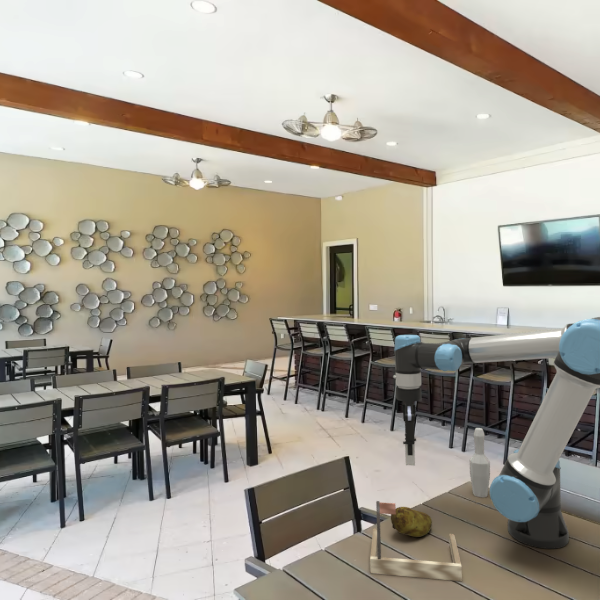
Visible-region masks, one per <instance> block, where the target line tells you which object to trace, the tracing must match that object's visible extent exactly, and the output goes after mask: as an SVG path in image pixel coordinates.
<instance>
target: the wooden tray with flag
mask: <svg viewBox="0 0 600 600" xmlns="http://www.w3.org/2000/svg"><path fill="white" fill-rule="evenodd" d="M375 503H376V504H375V506H376V508H375V509H376V528H372V537H371V546H370V548H371V549H370V558H369V560H370V561H369V562H370V563H369V566H370V568H369V569H370V574H378V575H379V574H380V575H387V576H388V575H389V576H399V577H400V576H401V577H409V578H421V579H432V580H434V579H435V580H443V581H444V580H445V581H455V582H463V570H462V569H463V568H462V563H461V558H460V554H459V550H458V546H457V545H458V544H457V541H456V536H455V534H453V533H449V550H450V555H451V560H452V562H443V561H431V560H420V559H409V558H397V557H396V558H394V557H385V556H383V557H382V543H381V515H382V514H384V515H391V514H396V508H397V507H396V505H397V504H396V502H395V503H393V502H380V500H376V502H375Z"/></svg>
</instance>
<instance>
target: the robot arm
mask: <svg viewBox="0 0 600 600" xmlns="http://www.w3.org/2000/svg"><path fill="white" fill-rule="evenodd" d="M393 352H394V362H395V363H394V364H395V369H394V370H395V371H394V372H395V374H394V375H393V376H392V378H393V379H395V385H396V387H395V399H396V400H397V401H400V402H404V404H401V411H402V413H403V414H402V417H403V418H402V419H403V422H404V431H405V432H404V437H405V438H404V441H402V444H403V445H404V446H405V448H404V449H405V450H404V452H405V466H413V467H414V466H416V457H415V456H416V454H415V453H416V452H415V445H416V444H415V443H416V442H417V438H415V422H416V412H417V410H416V408H417V407H416V404H414V402H419V401H421V400H422V388H421V386H422V371H421V369H426V370H428V369H429V370H434V371H435V370H436V371H442V372H448V371H449V372H455V371H458V370H459V368H460V367H461V365H464V364H477V363H478V364H480V363H493V362H507V361H512V362H513V361H523V360H525V361H527V360H540V359H554V361H553V365H554V366H553V367H554V368H555V370H556V373H555V376H554V377H553V379H552V381H551V383H550V385H549V388H548V389H547V392H546V393H545V396H544V397H543V399H542V402H541V403H540V406H539V408H538V410H537V412H536V413H535V416H534V418H533V421H532V422H531V424H530V426H529V429H528V431H527V433H526V435H525V437H524V439H523V440H522V443H521V446H520V447H519V448H517V449H514V451H513V452H512V453H510V454H509V455H508V456H507V459H506V461H505V463H504V465H503V467H502V468H501V471H500V473H499V475H497V476H496V477H494V478H493V479H492V482H491V484H490V486H489V497H490V500H491V502H492V504H493V506H494V507H495V509H496V510H497V512H499V514H501V515H502V516H503V517H505V518H506V519H508V521H507V531H508V533H509V535H510V536H511V537H512V538H513V539H515V540H516V541H518V542H520V543H522V544H525V545H527V546H531V547H535V548H538V549H539V548H540V549H553V550H554V549H559V548H564V547H565V546H567V545H568V543H569V541H570V539H569V537H570V536H569V530H568V526H567V524H566V521H565V518H564V516H563V513H562V507H561V506H562V505H561V500H562V499H561V498H562V496H561V463H560V458H561V456H562V454H563V452H564V451H565V450H566V449H565V448H566V446H567V444H569V443H568V442H569V441H570V438H571V437H572V435H573V433H574V430H575V429H576V427H577V425H578V423H579V422H580V420H581V418H582V416H583V414H584V412H585V409H586V408H587V406H588V405H589V403H590V400H591V398H592V396H593V394H594V393H595V391H596V390H597V389H600V316H598V317H592V318H586V319H582V320H579V321H577V322H574V323H567V324H566V325H564V327H562V328H554V329H552V328H551V329H545V330H534V331H527V332H526V331H525V332H523V331H522V332H515V333H507V334H505V333H504V334H497V335H486V336H478V337H469V338H468V337H467V338H462V337H461V338H460V337H459V338H456V339H453V340H449V341H443V342H438V343H436V342H435V343H434V342H433V343H432V342H430V343H429V342H421V338H420V335H417V334H400V335H397V336H395V338H394V351H393Z"/></svg>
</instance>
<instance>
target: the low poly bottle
mask: <svg viewBox="0 0 600 600" xmlns="http://www.w3.org/2000/svg"><path fill="white" fill-rule="evenodd" d="M473 441H474V454H473V455H472V456H471V458H470V459H469V476H470V483H471V489H472V495H474V496H475V497H477V498H487V497H488V495H489V490H490V486H489V485H490V481H491V480H490V479H491V462H490V460H489V458H488V457H487V456H486V454H485V432H484V430H483V428H482V427H481V428H480V427H476V428H475V429H474V432H473Z"/></svg>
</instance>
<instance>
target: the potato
mask: <svg viewBox="0 0 600 600" xmlns="http://www.w3.org/2000/svg"><path fill="white" fill-rule="evenodd" d="M390 522H391V528H392V529H393V530H396V532H398V533H399V534H401V535H405V536H406V535H408V536H410V537H414V538H417V537H418V538H420V537H423V536H425V535H427V534H428V533H429V532H430V531H431V529H432V527H433V520H432V517H431V516H430V515H429V514H427V513H426V512H423V511H419V510H415V509H412V508H410V507H408V506H399V507H396V514H390Z"/></svg>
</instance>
